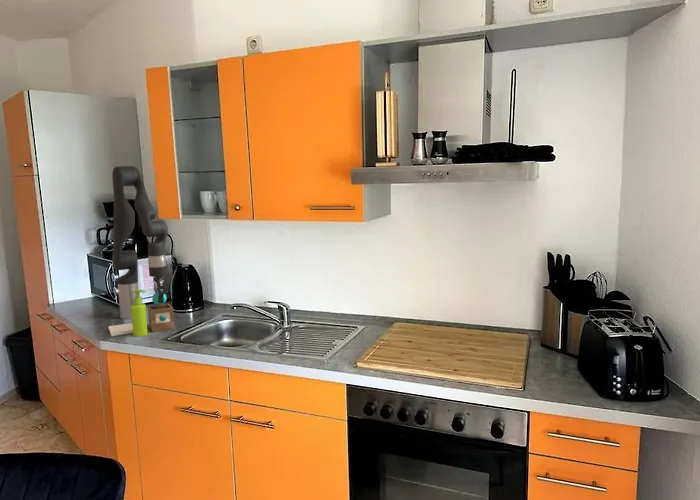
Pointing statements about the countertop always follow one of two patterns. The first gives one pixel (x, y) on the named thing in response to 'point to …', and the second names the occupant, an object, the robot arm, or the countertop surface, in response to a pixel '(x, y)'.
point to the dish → (120, 329)
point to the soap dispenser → (139, 315)
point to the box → (161, 317)
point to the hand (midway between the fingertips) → (159, 301)
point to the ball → (155, 299)
